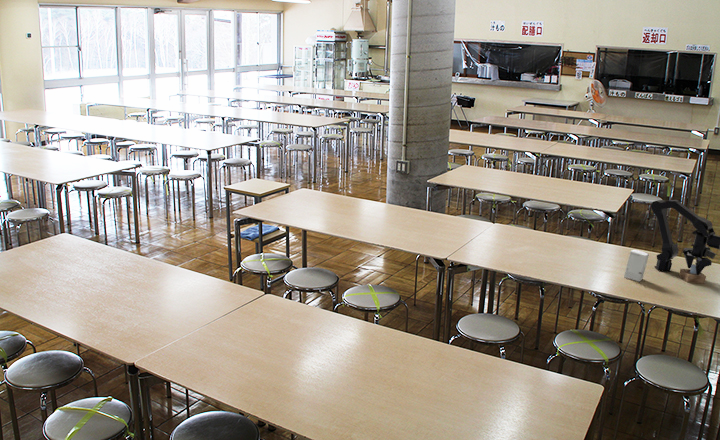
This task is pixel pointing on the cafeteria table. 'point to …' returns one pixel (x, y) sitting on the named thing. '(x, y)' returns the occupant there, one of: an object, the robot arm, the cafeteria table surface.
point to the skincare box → (636, 265)
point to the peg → (693, 269)
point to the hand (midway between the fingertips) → (693, 271)
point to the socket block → (692, 276)
